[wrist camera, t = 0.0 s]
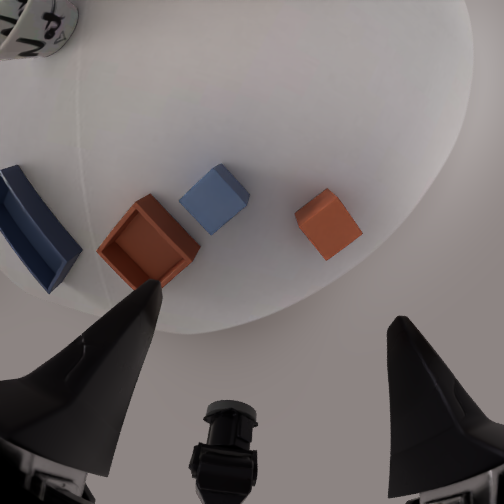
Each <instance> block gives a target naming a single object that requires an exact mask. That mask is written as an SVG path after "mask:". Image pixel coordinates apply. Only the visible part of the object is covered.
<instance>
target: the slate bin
mask: <svg viewBox="0 0 504 504" xmlns="http://www.w3.org/2000/svg"><path fill="white" fill-rule="evenodd" d="M0 231H1V233H2V234H3V236H4V237H5V239H6V240H7V241H8V243H9V244H10V246H11V247H12V249H13V250H14V251H15V253H16V254H17V255H18V257H19V258H20V259H21V261H22V262H23V263H24V265H25V266H26V267H27V269H28V270H29V271H30V272H31V274H32V275H33V276H34V277H35V279H36V280H37V281H38V282H39V283H40V285H41V286H42V287H43V288H44V289H45V290H46V291H47V293H48V294H50V293H51V292H52V291H53V290H54V289H55V288H56V287H57V286H58V285H59V284H61V283H62V282H63V280H64V278H65V277H66V275H67V274H68V272H69V270H70V269H71V267H72V266H73V264H74V262H75V261H76V259H77V258H78V256H79V255H80V253H81V252H82V248H81V247H80V246H79V245H78V244H77V243H76V242H75V240H74V239H73V238H72V237H71V236H70V235H69V233H68V232H67V231H66V230H65V229H64V227H63V226H62V225H61V224H60V222H59V221H58V220H57V219H56V217H55V216H54V215H53V214H52V212H51V211H50V210H49V208H48V207H47V206H46V205H45V203H44V202H43V201H42V199H41V198H40V196H39V195H38V194H37V192H36V191H35V190H34V188H33V187H32V185H31V184H30V183H29V181H28V180H27V178H26V177H25V175H24V174H23V172H22V171H21V169H20V168H19V166H18V165H15V166H12V167H8V168H5V169H2V170H0Z"/></svg>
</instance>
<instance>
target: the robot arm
mask: <svg viewBox="0 0 504 504" xmlns="http://www.w3.org/2000/svg"><path fill="white" fill-rule="evenodd" d="M162 299H163V295H162V288H161V282H160V281H159V280H154V279H148V280H147V281H146V282H144V283H143V284H142V285H140V286H139V287H138V288H137V289H135V290H134V291H133V292H132V293H130V294H129V295H128V296H127V297H126V298H124V299H123V300H122V301H121V302H119V303H118V304H117V305H116V306H115V307H113V308H112V309H111V310H110V311H108V312H107V313H106V314H105V315H104V316H102V317H101V318H100V319H99V320H98V321H96V322H95V323H94V324H93V325H92V326H91V327H89V328H88V329H87V330H86V331H85V332H84V333H82V336H81V335H80V336H79V337H78V338H76V339H75V340H74V341H73V342H72V343H70V344H69V345H68V346H67V347H66V348H64V349H63V350H62V351H61V352H59V353H58V354H56V355H55V356H54V357H52V358H51V359H50V360H48V361H47V362H45V363H44V364H42V365H41V366H40V367H38V368H37V369H36V370H34V371H33V372H31V373H30V374H28V375H26V376H24V377H22V378H18V379H11V380H3V381H0V504H95V498H94V496H93V495H92V493H91V492H90V490H89V488H88V487H87V485H86V483H85V481H86V477H87V473H92V474H96V475H100V476H104V477H108V475H109V471H110V467H111V463H112V460H113V456H114V452H115V449H116V445H117V442H118V439H119V435H120V432H121V428H122V425H123V422H124V419H125V416H126V412H127V409H128V406H129V403H130V400H131V397H132V394H133V391H134V388H135V385H136V382H137V380H138V377H139V374H140V371H141V368H142V365H143V363H144V360H145V357H146V354H147V352H148V349H149V346H150V344H151V341H152V338H153V334H154V331H155V327H156V323H157V319H158V315H159V311H160V308H161V304H162ZM387 367H388V368H387V370H388V382H389V397H390V422H391V452H390V454H391V456H390V476H389V489H388V498H395V497H401V496H406V495H411V494H416V493H420V497H418V498H415V499H412V500H409V501H407V502H406V504H504V425H502V424H499V423H495V422H493V421H491V420H490V419H488V418H487V417H486V416H485V414H484V413H483V412H482V411H481V409H480V408H479V407H478V406H477V405H476V403H475V402H474V401H473V400H472V398H471V397H470V396H469V395H468V393H467V392H466V391H465V390H464V388H463V387H462V386H461V384H460V383H459V381H458V380H457V379H456V378H455V376H454V375H453V373H452V372H451V371H450V369H449V368H448V367H447V365H446V364H445V363H444V361H443V360H442V359H441V358H440V356H439V355H438V354H437V353H436V351H435V350H434V349H433V347H432V346H431V345H430V344H429V343H428V341H427V340H426V339H425V338H424V336H423V335H422V334H421V333H420V331H419V330H418V329H417V328H416V327H415V325H414V324H413V323H412V322H411V321H410V320H409V318H408V317H406V316H397V317H396V318H395V320H394V321H393V322H392V324H391V325H390V326H389V328H388V330H387ZM203 420H204V421H206V422H207V423H209V424H210V428H209V433H208V438H207V444H203V443H200V442H199V444H198V445H196V446H194V450H193V454H192V458H191V460H190V464H189V469H190V470H191V473H192V478H195V479H196V493H197V495H198V497H199V498H200V501H201V502H202V504H242V503H243V502H244V500H245V499H246V498H247V496H248V495H249V493H250V492H251V489H252V486H255V484H256V480H257V470H258V469H257V450H253V451H252V450H249V449H250V442H252V428H254V427H257V426H258V423H257V422H256V421H254V420H252V419H250V418H249V417H247V416H245V415H244V414H242V413H240V412H239V411H237V410H235V409H234V408H227V409H224V410H222V411H219V412H216V413H214V414H211V415H208V416H205V417H204V419H203Z"/></svg>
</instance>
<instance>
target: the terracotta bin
mask: <svg viewBox="0 0 504 504" xmlns="http://www.w3.org/2000/svg"><path fill="white" fill-rule="evenodd" d="M200 247H201V246H200V245H199V244H198V243H197V242H196V241H195V240H194V239H193V238H192V237H191V236H190V235H189V234H188V233H187V232H186V231H185V230H184V229H183V228H182V227H181V226H180V225H179V224H178V222H177V221H176V220H175V219H174V218H173V217H172V216H171V215H170V214H169V213H168V212H167V211H166V210H165V209H164V208H163V207H162V205H161V204H160V203H159V202H158V201H157V200H156V199H155V198H154V197H153V196H152V195H151V194H149V195H147V196H145V197H143V198H141V199H140V200H138V201H136V202H135V203H134V204H133V206H132V207H131V208H130V209H129V210H128V211H127V213H126V214H125V215H124V216H123V217H122V219H121V220H120V221H119V222H118V224H117V225H116V226H115V227H114V228H113V230H112V231H111V232H110V234H109V235H108V236H107V237H106V239H105V240H104V241H103V243H102V244H101V245H100V247H99V248H98V249H97V251H96V252H97V253H98V254H99V255H100V256H101V257H102V258H103V259H104V260H105V262H106V263H107V264H108V265H109V266H110V267H111V268H112V269H113V270H114V271H115V272H116V273H117V274H118V275H119V276H120V277H121V278H122V279H123V280H124V281H125V282H126V283H127V284H128V285H129V286H130V287H131V288H132V289H133V290H135V289H137V288H138V287H139V286H140V285H142V284H143V283H144V282H146V281H147V280H148V279H154V280H159V281H160V282H161V288H163V287H164V286H165V285H166V284H167V283H168V282H170V281H171V280H172V279H173V278H174V277H175V276H176V275H178V274H179V273H180V272H181V271H182V270H183V269H184V268H186V267H187V266H188V265H189V264H190V263H191V262H193V260H194V258H195V256H196V254H197V253H198V251H199V249H200Z"/></svg>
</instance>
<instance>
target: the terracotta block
mask: <svg viewBox="0 0 504 504" xmlns="http://www.w3.org/2000/svg"><path fill="white" fill-rule="evenodd" d="M295 216H296V219H297V222H298V225H299V228H300V229H301V230H302V232H303V233H304V234H305V235H306V236H307V238H308V239H309V240H310V241H311V243H312V244H313V245H314V246H315V248H316V249H317V250H318V251H319V253H320V254H321V255H322V256H323V258H324V259H325V260H326V261H327V260H328V259H330V258H331V257H332V256H334V255H335V254H337V253H338V252H339V251H341V250H342V249H343V248H345V247H346V246H347V245H349V244H350V243H351V242H353V241H354V240H355V239H357V238H358V237H359V236H361V235H362V234H363V233H362V231H361V230H360V228H359V227H358V225H357V224H356V222H355V221H354V220H353V218H352V217H351V215H350V214H349V212H348V211H347V210H346V208H345V207H344V205H343V204H342V203H341V201H340V200H339V198H338V197H337V196H336V195H335V194H333V193H332V192H331V191H330V190H329V189H328V188H327V189H325V190H324V191H323V192H322V193H320V194H319V195H318V196H316V197H315V198H314V199H313V200H311V201H310V202H309V203H307V204H306V205H305V206H303V207H302V208H301V209H300V210H298V211H297V212H296V213H295Z"/></svg>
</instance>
